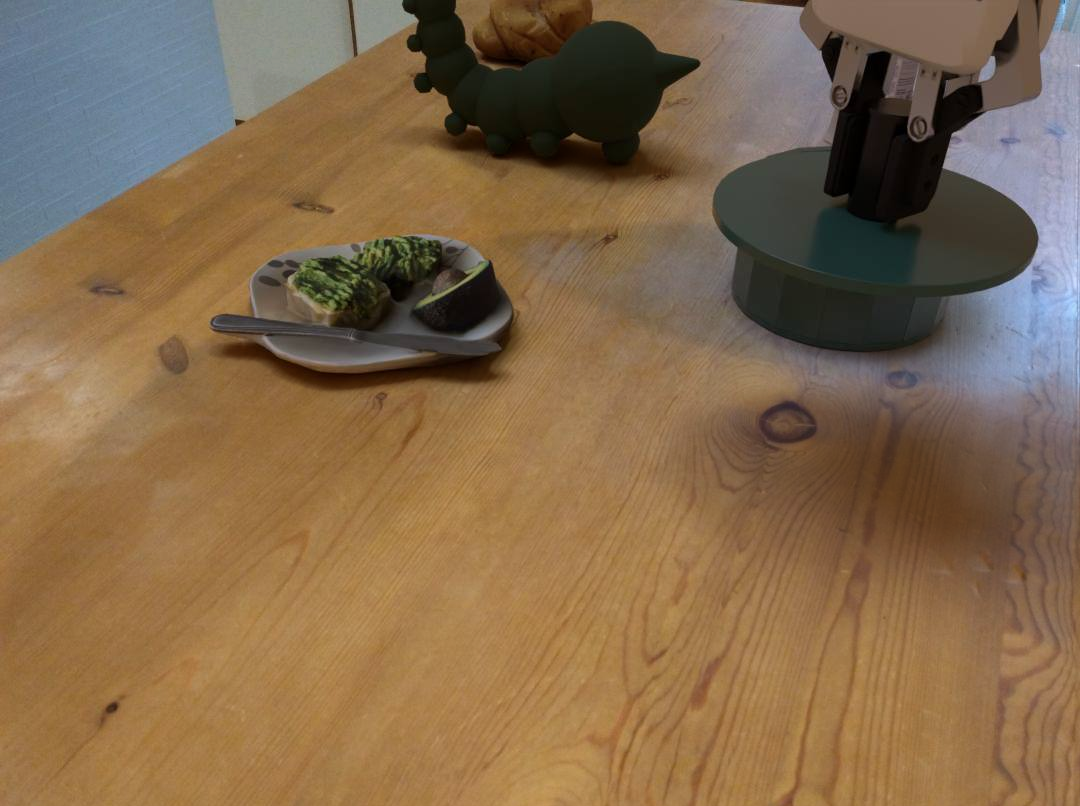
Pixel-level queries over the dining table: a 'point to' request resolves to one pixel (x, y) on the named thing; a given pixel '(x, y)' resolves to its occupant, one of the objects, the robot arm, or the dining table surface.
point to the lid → (873, 222)
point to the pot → (830, 307)
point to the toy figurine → (547, 85)
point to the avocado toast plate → (375, 305)
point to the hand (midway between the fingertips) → (875, 199)
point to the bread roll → (530, 27)
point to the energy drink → (903, 79)
